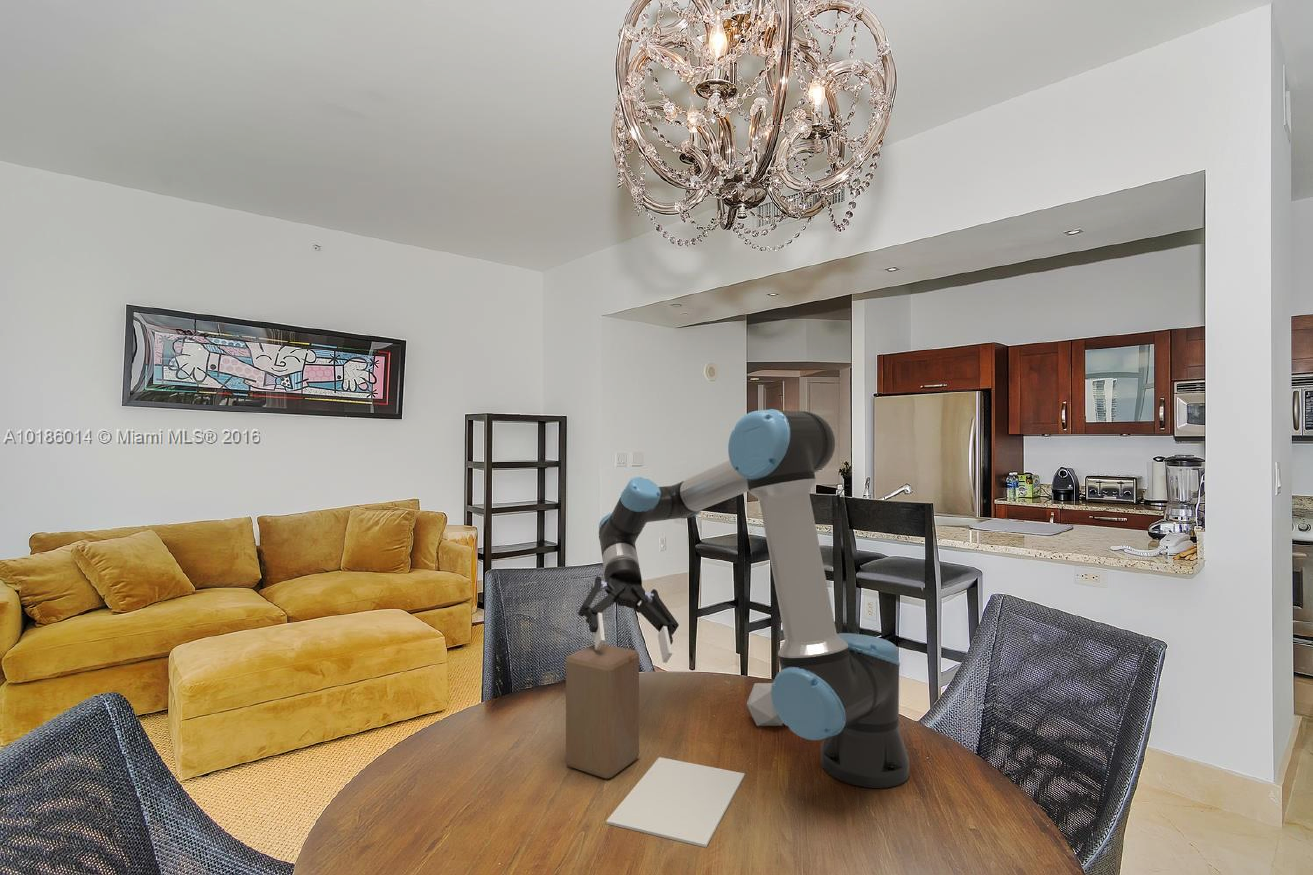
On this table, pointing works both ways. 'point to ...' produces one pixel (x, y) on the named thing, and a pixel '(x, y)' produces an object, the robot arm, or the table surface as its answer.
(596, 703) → the wooden block
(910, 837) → the table surface
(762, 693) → the die
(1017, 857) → the table surface
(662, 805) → the white mat
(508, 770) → the table surface
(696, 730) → the table surface
